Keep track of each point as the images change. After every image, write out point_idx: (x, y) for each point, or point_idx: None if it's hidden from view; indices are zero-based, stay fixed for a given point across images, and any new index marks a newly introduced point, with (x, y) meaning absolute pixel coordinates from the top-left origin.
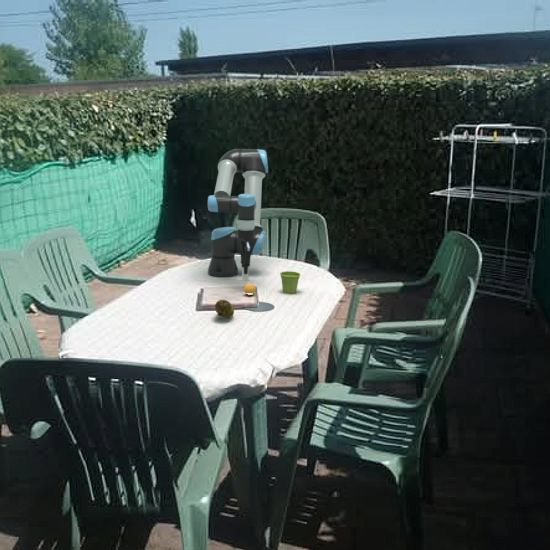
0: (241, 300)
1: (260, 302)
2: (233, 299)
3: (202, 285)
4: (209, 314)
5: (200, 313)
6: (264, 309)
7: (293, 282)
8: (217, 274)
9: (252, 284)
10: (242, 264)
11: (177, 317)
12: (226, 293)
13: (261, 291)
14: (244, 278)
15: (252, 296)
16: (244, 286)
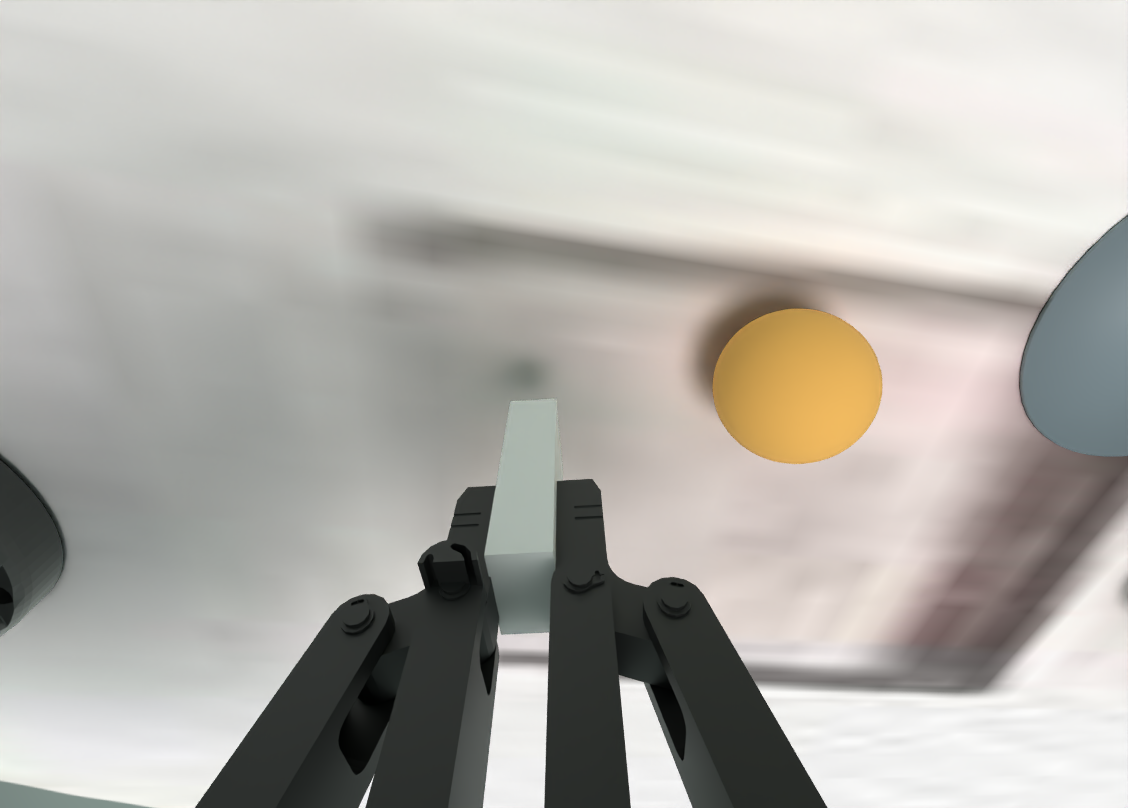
0: (901, 444)
1: (1093, 283)
2: (842, 499)
3: None
4: (1104, 646)
5: (1050, 680)
6: None
7: None
8: (43, 577)
9: (851, 393)
10: (497, 660)
11: (1043, 752)
12: (643, 531)
13: (631, 184)
14: (559, 463)
15: None
16: (792, 463)
